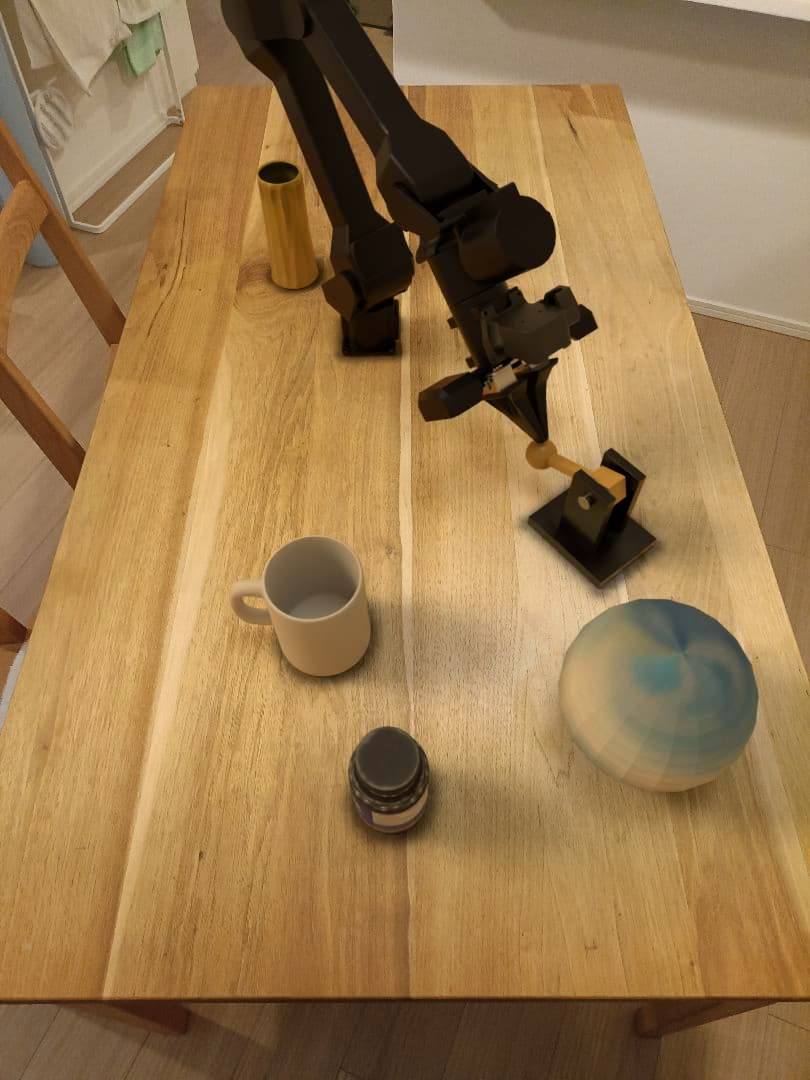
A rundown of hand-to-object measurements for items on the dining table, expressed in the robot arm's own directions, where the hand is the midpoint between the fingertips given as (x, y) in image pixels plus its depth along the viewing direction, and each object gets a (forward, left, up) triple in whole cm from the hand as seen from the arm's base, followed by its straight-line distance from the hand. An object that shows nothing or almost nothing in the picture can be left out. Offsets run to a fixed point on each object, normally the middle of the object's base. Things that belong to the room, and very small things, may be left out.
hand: (543, 441), depth 76 cm
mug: (-23, -17, -7) cm, 30 cm away
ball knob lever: (+3, -4, -2) cm, 5 cm away
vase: (-28, +35, -7) cm, 45 cm away
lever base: (+5, -6, -7) cm, 11 cm away
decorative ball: (+6, -26, -7) cm, 28 cm away
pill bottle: (-15, -32, -7) cm, 36 cm away
